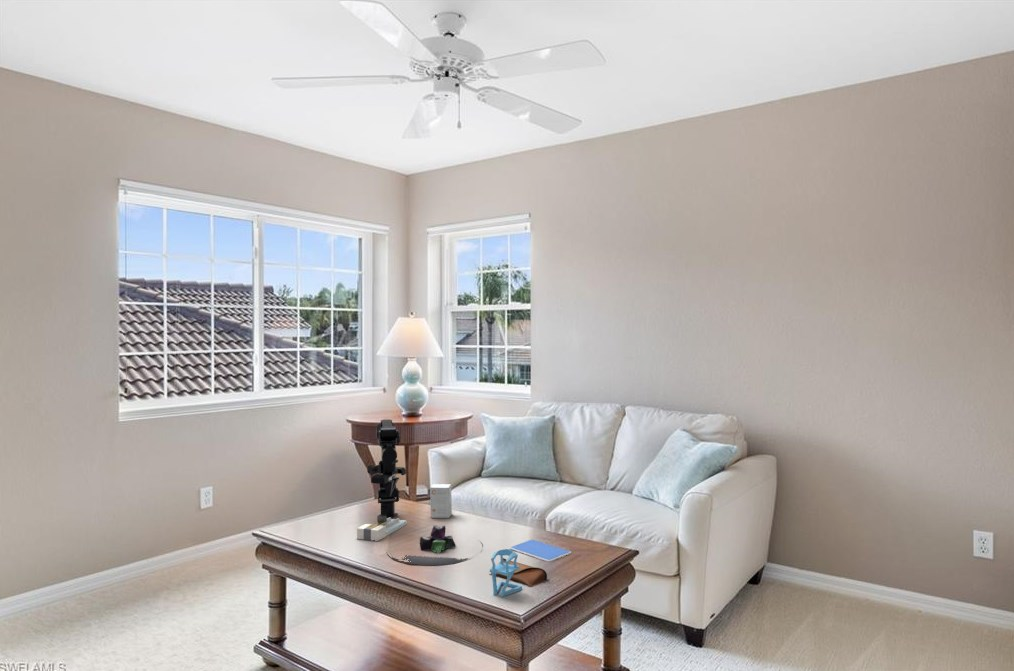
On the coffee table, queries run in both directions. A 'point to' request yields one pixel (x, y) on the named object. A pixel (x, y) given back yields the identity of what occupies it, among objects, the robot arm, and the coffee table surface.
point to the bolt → (380, 521)
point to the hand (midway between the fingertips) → (389, 496)
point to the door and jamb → (379, 529)
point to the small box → (440, 500)
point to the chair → (504, 572)
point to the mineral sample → (434, 548)
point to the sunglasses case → (526, 574)
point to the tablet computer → (540, 550)
